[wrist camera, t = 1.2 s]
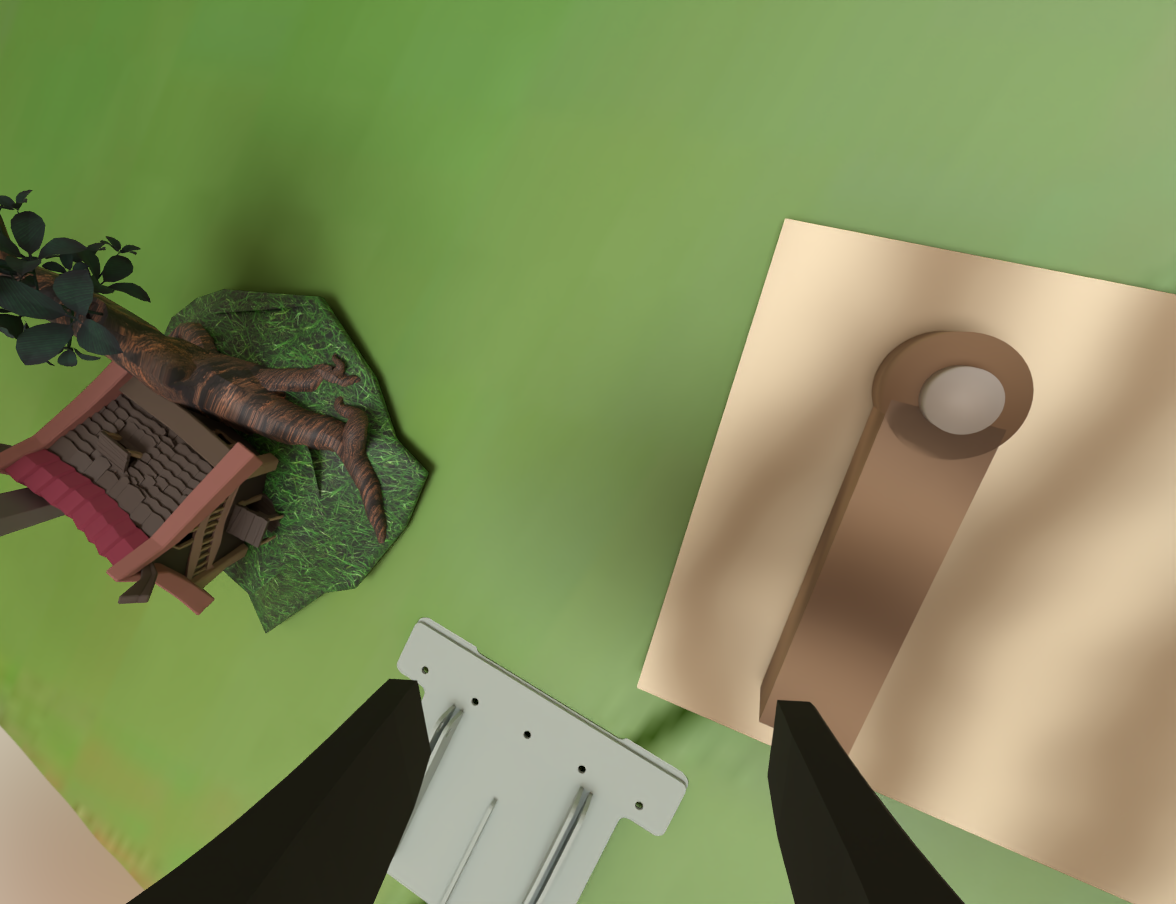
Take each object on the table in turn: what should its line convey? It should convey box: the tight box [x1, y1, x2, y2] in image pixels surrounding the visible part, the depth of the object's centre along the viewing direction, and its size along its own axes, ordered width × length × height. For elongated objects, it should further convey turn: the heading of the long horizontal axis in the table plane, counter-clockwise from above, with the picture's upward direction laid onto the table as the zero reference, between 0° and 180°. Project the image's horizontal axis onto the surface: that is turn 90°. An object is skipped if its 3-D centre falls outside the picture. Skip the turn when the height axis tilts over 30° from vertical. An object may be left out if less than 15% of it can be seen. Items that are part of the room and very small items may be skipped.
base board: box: [637, 219, 1176, 904], centre depth 18 cm, size 20×19×1 cm
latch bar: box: [759, 331, 1034, 755], centre depth 17 cm, size 14×4×3 cm, turn 167°
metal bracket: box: [387, 618, 688, 904], centre depth 27 cm, size 14×6×15 cm
